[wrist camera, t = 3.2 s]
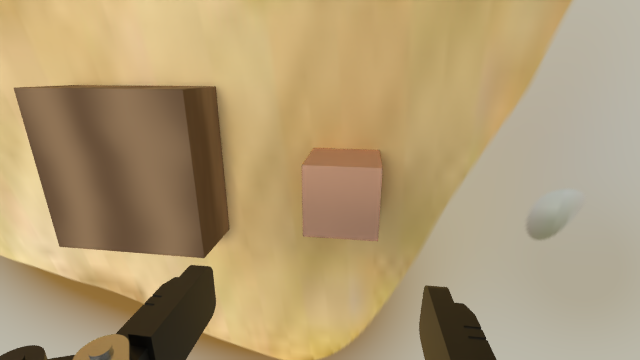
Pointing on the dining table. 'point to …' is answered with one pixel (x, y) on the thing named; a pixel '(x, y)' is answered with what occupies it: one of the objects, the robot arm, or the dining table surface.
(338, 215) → the terracotta cube
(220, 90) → the dining table surface
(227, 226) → the walnut base block
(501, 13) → the dining table surface
